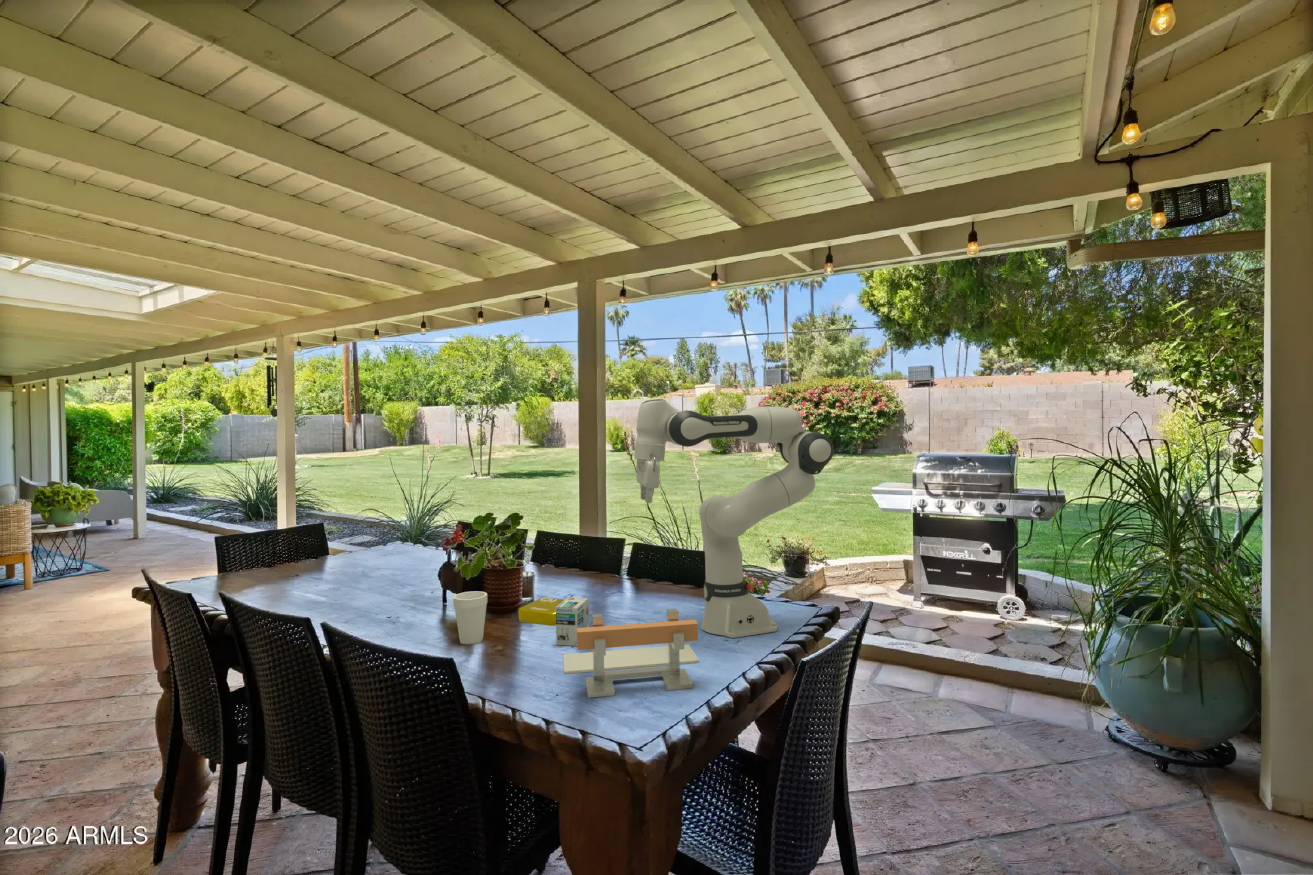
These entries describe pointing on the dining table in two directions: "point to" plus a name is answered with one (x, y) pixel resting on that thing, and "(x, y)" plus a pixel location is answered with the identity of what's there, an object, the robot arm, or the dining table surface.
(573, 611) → the light bulb box
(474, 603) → the foam cup
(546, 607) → the element tile
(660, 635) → the rail
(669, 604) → the dining table surface
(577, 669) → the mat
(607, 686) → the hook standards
